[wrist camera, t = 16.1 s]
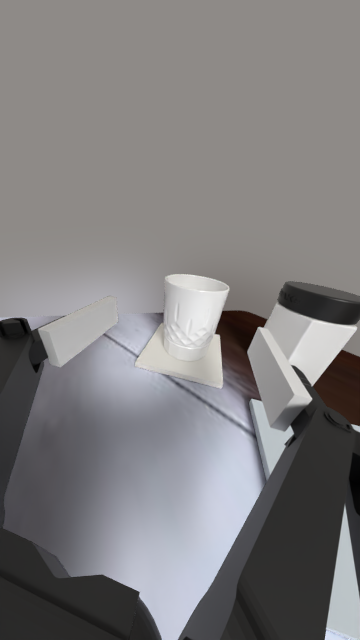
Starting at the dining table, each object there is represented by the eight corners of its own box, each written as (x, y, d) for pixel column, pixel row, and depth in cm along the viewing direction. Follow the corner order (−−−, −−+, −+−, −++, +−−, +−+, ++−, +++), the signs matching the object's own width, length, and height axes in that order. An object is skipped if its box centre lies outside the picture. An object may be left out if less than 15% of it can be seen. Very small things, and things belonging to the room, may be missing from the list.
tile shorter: (218, 338, 28) (219, 335, 27) (221, 388, 18) (223, 384, 18) (161, 326, 29) (161, 322, 29) (135, 366, 19) (135, 362, 19)
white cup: (205, 373, 19) (226, 297, 14) (149, 353, 21) (152, 280, 16) (214, 341, 25) (231, 282, 21) (172, 327, 27) (178, 271, 23)
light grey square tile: (357, 431, 16) (363, 427, 15) (598, 740, 6) (629, 749, 5) (248, 403, 17) (251, 398, 16) (297, 617, 7) (306, 618, 7)
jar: (259, 341, 29) (287, 278, 23) (310, 363, 25) (360, 293, 19) (245, 365, 22) (280, 285, 17) (312, 400, 18) (388, 311, 13)
